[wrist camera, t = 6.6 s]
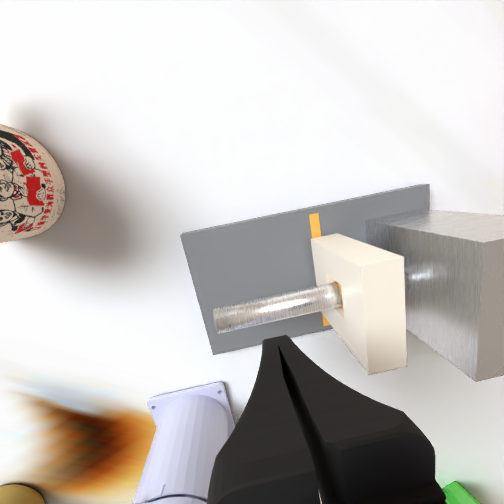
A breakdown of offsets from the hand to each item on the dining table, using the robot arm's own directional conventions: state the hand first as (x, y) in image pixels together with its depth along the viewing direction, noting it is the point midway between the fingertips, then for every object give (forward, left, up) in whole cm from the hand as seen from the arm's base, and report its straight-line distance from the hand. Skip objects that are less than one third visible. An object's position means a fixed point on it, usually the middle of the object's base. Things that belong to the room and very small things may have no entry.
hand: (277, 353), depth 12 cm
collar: (0, -6, -9) cm, 11 cm away
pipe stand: (0, -6, -9) cm, 11 cm away
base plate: (0, -5, -10) cm, 12 cm away
